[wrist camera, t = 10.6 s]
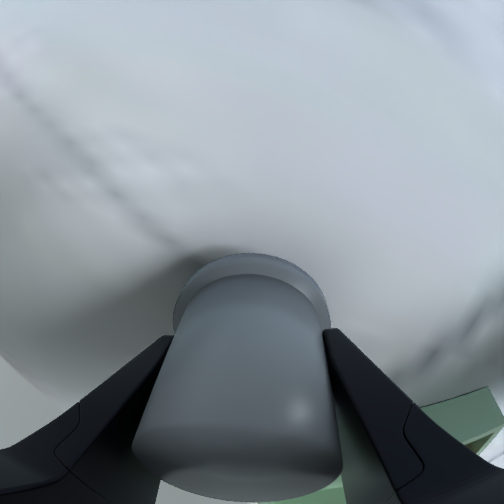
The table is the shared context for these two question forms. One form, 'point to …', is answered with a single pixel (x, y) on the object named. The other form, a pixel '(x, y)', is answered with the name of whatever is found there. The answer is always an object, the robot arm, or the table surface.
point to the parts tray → (451, 420)
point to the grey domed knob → (244, 387)
